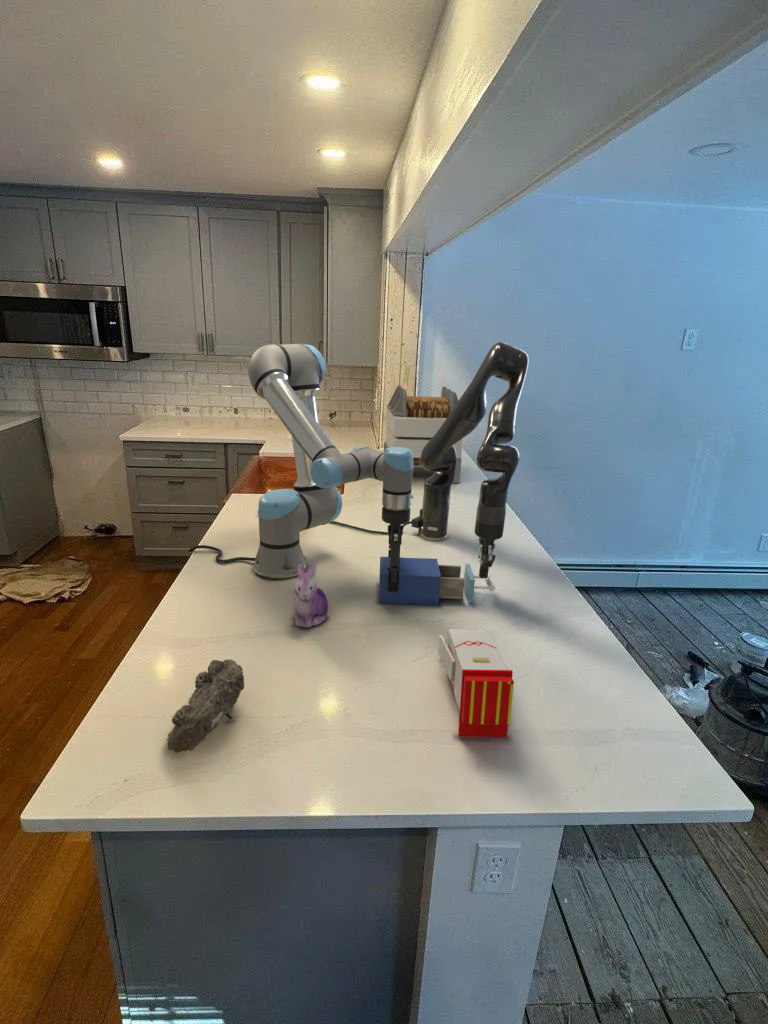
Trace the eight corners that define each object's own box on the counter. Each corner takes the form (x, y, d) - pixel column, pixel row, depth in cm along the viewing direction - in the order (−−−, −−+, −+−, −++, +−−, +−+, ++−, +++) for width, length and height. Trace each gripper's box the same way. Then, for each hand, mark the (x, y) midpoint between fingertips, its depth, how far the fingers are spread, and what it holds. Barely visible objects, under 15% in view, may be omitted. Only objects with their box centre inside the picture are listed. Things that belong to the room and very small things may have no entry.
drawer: (488, 585, 163) (490, 564, 161) (494, 602, 153) (497, 580, 151) (415, 582, 163) (417, 561, 160) (417, 600, 153) (419, 578, 151)
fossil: (192, 660, 117) (244, 628, 112) (224, 691, 120) (276, 661, 115) (142, 746, 98) (202, 712, 93) (182, 779, 101) (242, 748, 96)
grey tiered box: (382, 463, 289) (386, 382, 275) (445, 464, 293) (451, 384, 279) (390, 482, 257) (394, 392, 243) (460, 483, 261) (468, 394, 247)
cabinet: (434, 585, 164) (437, 558, 161) (438, 605, 153) (440, 576, 150) (379, 583, 163) (380, 556, 160) (378, 602, 153) (380, 574, 150)
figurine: (299, 632, 137) (299, 576, 132) (286, 613, 145) (285, 559, 140) (336, 624, 141) (336, 570, 136) (320, 605, 149) (321, 553, 144)
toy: (488, 613, 130) (523, 677, 101) (484, 667, 133) (517, 744, 104) (435, 612, 130) (455, 676, 101) (432, 666, 133) (451, 743, 103)
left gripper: (412, 523, 138) (407, 602, 146) (408, 493, 161) (404, 563, 168) (382, 522, 138) (378, 601, 146) (382, 492, 160) (379, 562, 168)
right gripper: (509, 528, 144) (501, 589, 150) (499, 510, 157) (492, 567, 163) (480, 527, 144) (472, 587, 150) (472, 509, 157) (466, 566, 163)
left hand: (392, 581), depth 157 cm, fingers closed on cabinet, 11 cm apart
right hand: (483, 577), depth 156 cm, fingers closed
